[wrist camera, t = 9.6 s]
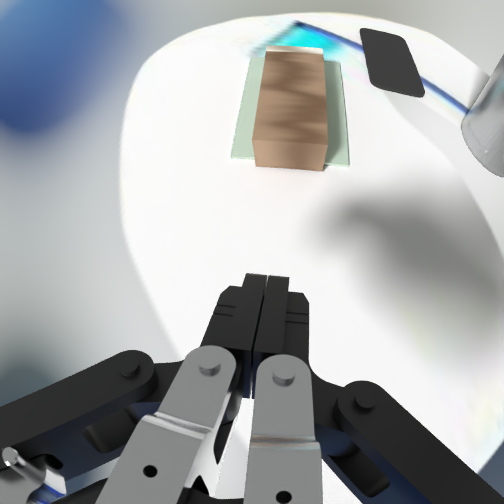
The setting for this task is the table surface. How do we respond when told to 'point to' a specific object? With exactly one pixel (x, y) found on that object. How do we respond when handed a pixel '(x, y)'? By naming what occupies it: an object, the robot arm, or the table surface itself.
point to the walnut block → (291, 110)
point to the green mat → (335, 114)
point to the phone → (390, 63)
